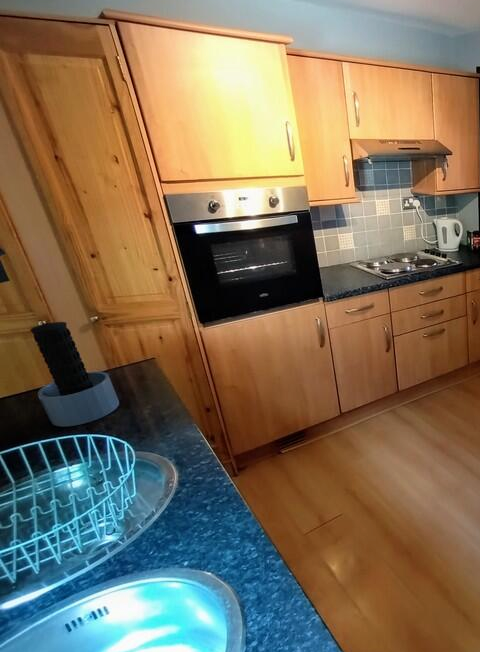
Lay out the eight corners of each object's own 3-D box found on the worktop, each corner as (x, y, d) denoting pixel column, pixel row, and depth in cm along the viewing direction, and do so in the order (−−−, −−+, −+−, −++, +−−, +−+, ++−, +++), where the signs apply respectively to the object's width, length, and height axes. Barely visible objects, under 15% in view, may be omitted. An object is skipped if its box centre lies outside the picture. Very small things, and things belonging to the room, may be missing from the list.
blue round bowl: (36, 423, 123) (22, 395, 119) (90, 396, 136) (79, 369, 132) (82, 429, 120) (68, 400, 117) (132, 400, 134) (121, 373, 130)
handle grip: (113, 407, 129) (101, 396, 134) (78, 321, 118) (67, 313, 124) (67, 423, 121) (57, 411, 127) (25, 333, 111) (15, 324, 116)
